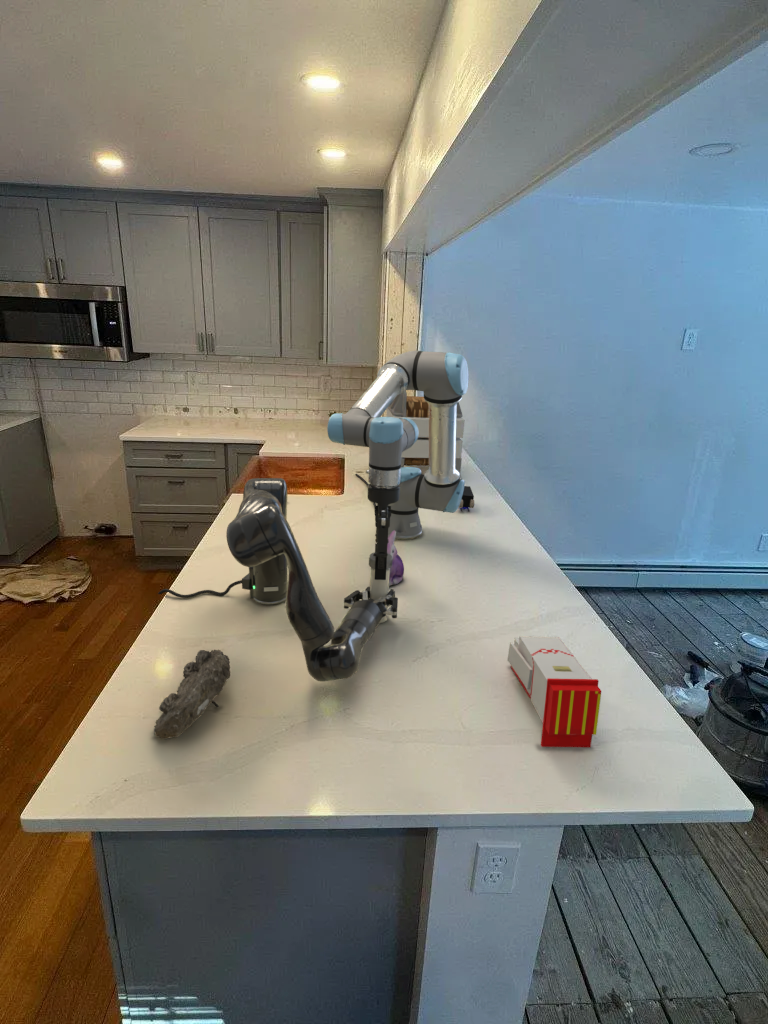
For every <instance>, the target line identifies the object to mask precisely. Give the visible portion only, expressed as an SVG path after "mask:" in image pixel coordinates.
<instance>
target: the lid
mask: <svg viewBox="0 0 768 1024" xmlns="http://www.w3.org/2000/svg"><path fill="white" fill-rule="evenodd" d="M373 553H376V552H375V551H374V552H372V553H370V554H369V556H368V566H369V567H370V569H371V568H373V569H375V558H376V556H373ZM391 567H392V555H390V554H389V553H388V556H387V565H386V570H387V569H389V568H391Z"/></svg>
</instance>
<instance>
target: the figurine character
mask: <svg viewBox="0 0 768 1024" xmlns="http://www.w3.org/2000/svg"><path fill="white" fill-rule="evenodd" d="M474 498H475V496H474V492H473V489H472V488H471V486H469V485H465V486H464V491H463V495H462V499H461V502H460V505H459V507H458V509H460V512H461V513H462V512H464V511H463V510H467V512H468V513H470V511H471V510H470V509H474V508H475V499H474Z"/></svg>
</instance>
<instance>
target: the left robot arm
mask: <svg viewBox="0 0 768 1024" xmlns="http://www.w3.org/2000/svg"><path fill="white" fill-rule="evenodd" d="M287 511H288V486H287V482H286V480H285V479H284V478H282V477H257V478H256V477H253V478H250V479H248V480H247V481H246V482H245V484H244V487H243V493H242V501H241V503H240V505H239V509H238V510H237V514H236V516H235V517H234V518H233V519H232V521H230V522H229V523H228V525H227V528H226V536H225V537H226V543H227V547H228V549H229V552H230V554H231V555H232V558H234V560H235V561H236V562H238V563H239V564H240V565H241V566H243V567H246V568H248V573H247V574H245V575H244V576H243V577H242V578H241V579H240V580H236V581H234V582H232V583H230V584H229V585H228V586H227V588H226V589H225V590H224V591H222V592H219V591H216V590H212V589H203V590H199V591H196V592H193V593H189V594H181V593H178V592H176V591H174V590H173V589H169V588H163V589H161V590H160V591H158V592H157V594H158V595H162V594H164V593H168V592H169V593H168V594H169V595H172V596H175V597H177V598H180V599H189V598H194V597H197V596H200V595H203V594H212V595H215V596H219V597H222V596H225V595H227V594H228V593H230V590H231V589H232V588H233V587H235V586H237V585H241V589H243V590H247V591H249V598H250V599H251V600H253V601H254V602H255V603H257V604H260V605H264V606H265V605H266V606H267V605H269V606H271V605H278V604H282V603H284V602H285V612H286V613H285V614H286V615H287V619H288V621H289V623H290V625H291V627H292V628H293V630H294V632H295V633H296V636H297V637H298V639H299V641H300V644H301V646H302V647H301V648H302V651H303V655H304V659H305V665H306V670H307V672H308V674H309V675H310V677H311V678H313V680H315V681H317V682H321V683H325V682H330V681H331V682H332V681H339V680H345V679H349V678H352V677H353V676H355V675H356V674H357V673H358V671H359V669H360V665H361V656H362V650H363V648H364V646H365V645H366V643H367V642H368V641H370V638H371V637H372V635H373V634H374V633H375V632H376V630H377V627H378V626H379V625H380V624H381V623H380V621H381V619H382V618H383V617H385V616H386V615H387V616H391V618H392V619H397V617H398V607H399V605H398V604H399V598H398V597H397V596H396V591H395V590H394V588H389V592H388V594H387V596H385V597H381V598H379V599H378V600H374V599H371V598H370V586H367V587H366V588H365V589H364V590H362V591H360V590H359V589H356V590H355V591H353V592H351V593H350V594H348V595H347V596H346V597H344V598H343V609H345V610H347V609H348V611H347V612H346V614H345V615H344V617H343V618H342V620H341V621H340V623H339V624H338V626H337V628H336V629H335V627H334V624H333V622H332V620H331V618H330V616H329V614H328V613H327V611H326V609H325V607H324V605H323V604H322V602H321V600H320V599H321V598H320V597H319V596H318V593H317V591H316V589H315V586H314V583H313V581H312V578H311V575H310V572H309V569H308V566H307V564H306V561H305V558H304V557H303V554H302V552H301V550H300V546H299V544H298V541H297V539H296V536H295V534H294V532H293V529H292V527H291V526H290V524H289V522H288V520H287V519H288V518H287V515H288V512H287ZM387 607H388V609H387ZM329 642H330V644H328V643H329ZM326 644H328V645H326Z"/></svg>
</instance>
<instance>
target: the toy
mask: <svg viewBox="0 0 768 1024" xmlns="http://www.w3.org/2000/svg"><path fill="white" fill-rule="evenodd" d="M507 662H508V663H509V665H510V669H511V671H512V672H513V674H514V675H515V677H516V678H517V680H518V681H519V683H520V684H521V686H522V688H523V690H524V692H525V693H526V695H527V696H528V698H529V699H530V702H531V703H532V706H533V707H534V709H535V711H536V713H537V715H538V716H539V718H540V721H541V722H542V729H541V739H540V746H541V748H591V747H592V738H593V736H597V730H598V722H599V713H600V707H601V698H602V690H601V688H600V687H599V683H600V681H599V679H597V678H596V679H595V678H592V676H590V674H589V673H588V672H587V671H586V669H585V668H584V667H583V666H582V664H581V663H580V662H579V660H578V659H577V658H576V657H575V655H574V654H573V653H572V651H571V650H570V649H569V648H568V646H567V645H566V644H565V642H564V641H563V640H562V639H561V637H560V636H527V635H526V636H523V635H522V636H521V635H519V637H514V640H513V641H511V642H509V647H508V652H507Z"/></svg>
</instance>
